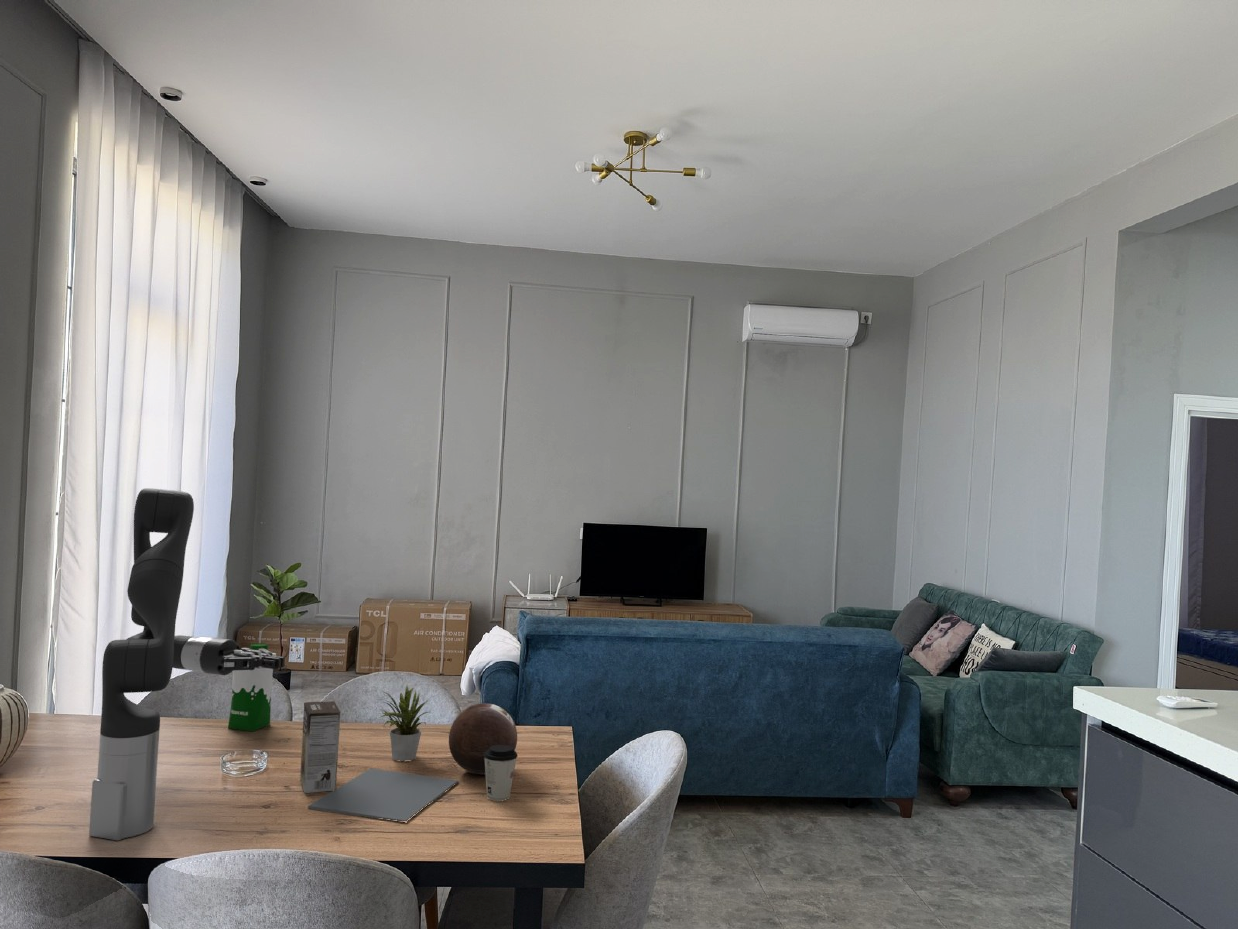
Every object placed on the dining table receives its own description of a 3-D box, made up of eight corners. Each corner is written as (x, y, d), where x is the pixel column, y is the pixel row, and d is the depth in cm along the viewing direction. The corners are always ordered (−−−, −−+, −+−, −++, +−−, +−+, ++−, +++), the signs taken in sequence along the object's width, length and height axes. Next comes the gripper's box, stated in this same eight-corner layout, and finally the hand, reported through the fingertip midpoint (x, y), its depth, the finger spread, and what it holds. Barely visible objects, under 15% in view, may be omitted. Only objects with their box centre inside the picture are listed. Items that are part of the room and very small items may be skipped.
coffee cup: (483, 804, 177) (485, 754, 177) (479, 792, 183) (481, 743, 184) (517, 803, 179) (520, 753, 179) (512, 790, 185) (515, 742, 186)
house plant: (366, 749, 208) (371, 679, 208) (426, 746, 213) (430, 677, 213) (372, 768, 194) (377, 694, 195) (436, 764, 199) (440, 692, 200)
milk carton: (275, 724, 224) (280, 644, 225) (252, 733, 215) (257, 651, 216) (245, 720, 226) (250, 641, 227) (221, 729, 217) (226, 647, 218)
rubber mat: (405, 823, 165) (405, 820, 165) (307, 808, 170) (308, 805, 170) (458, 782, 188) (458, 780, 188) (370, 770, 193) (370, 768, 193)
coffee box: (298, 779, 186) (303, 701, 186) (330, 776, 188) (335, 700, 189) (303, 794, 177) (307, 713, 178) (336, 790, 180) (341, 711, 180)
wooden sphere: (520, 782, 191) (524, 712, 191) (450, 785, 186) (454, 714, 187) (509, 760, 205) (513, 695, 205) (443, 763, 201) (447, 696, 201)
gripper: (189, 642, 183) (263, 650, 179) (231, 633, 196) (301, 640, 192) (187, 679, 183) (260, 688, 179) (229, 667, 196) (299, 675, 192)
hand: (281, 663), depth 186 cm, fingers closed
